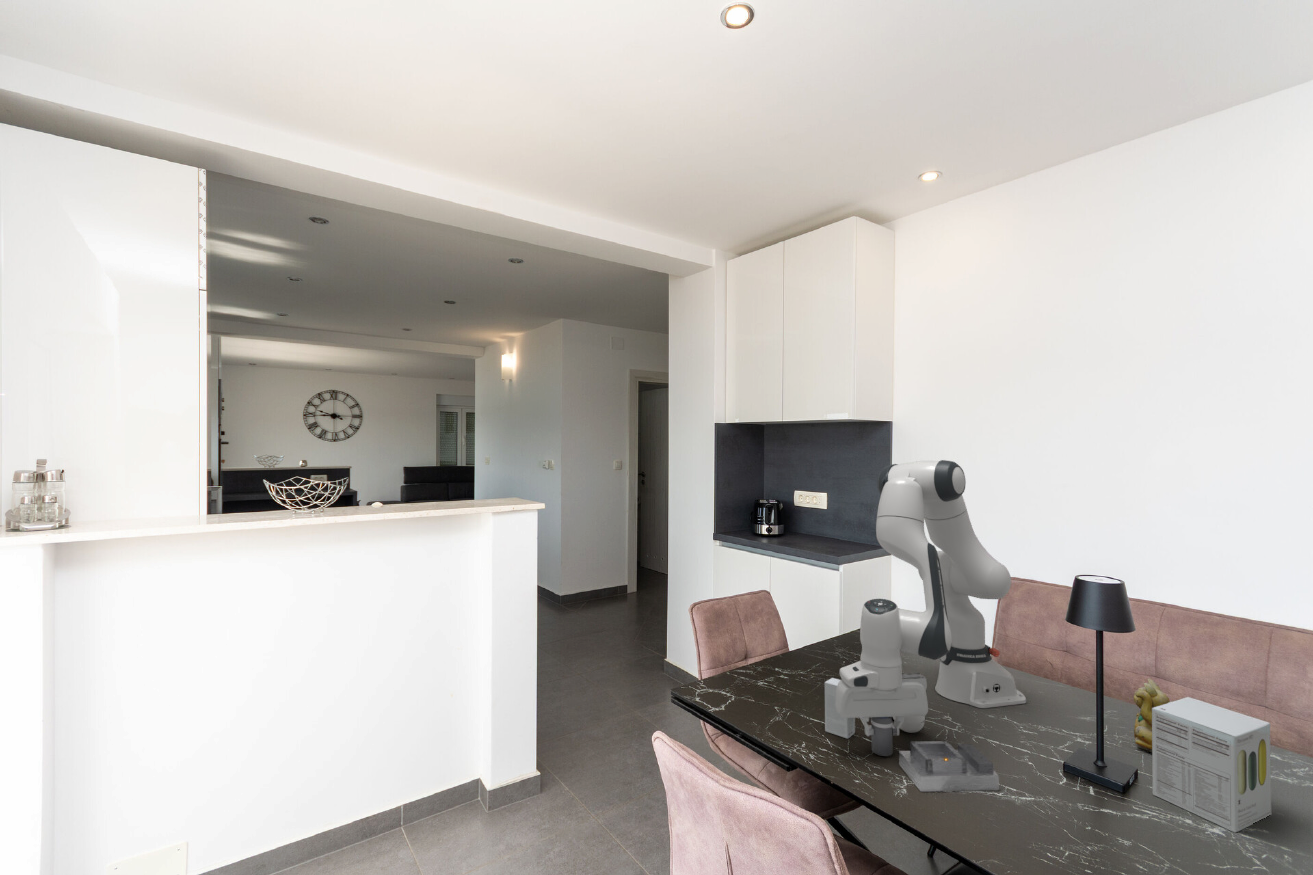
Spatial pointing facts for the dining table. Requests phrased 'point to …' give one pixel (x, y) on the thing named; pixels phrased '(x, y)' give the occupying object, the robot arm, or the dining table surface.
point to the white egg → (912, 723)
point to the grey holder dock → (948, 767)
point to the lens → (882, 735)
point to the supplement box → (1212, 762)
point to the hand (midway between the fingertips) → (881, 734)
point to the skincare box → (836, 713)
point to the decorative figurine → (1147, 712)
